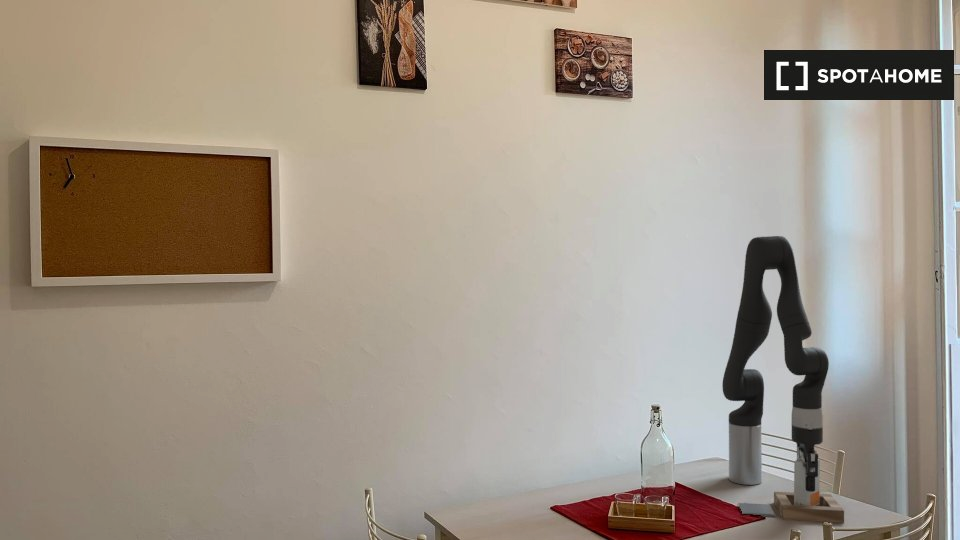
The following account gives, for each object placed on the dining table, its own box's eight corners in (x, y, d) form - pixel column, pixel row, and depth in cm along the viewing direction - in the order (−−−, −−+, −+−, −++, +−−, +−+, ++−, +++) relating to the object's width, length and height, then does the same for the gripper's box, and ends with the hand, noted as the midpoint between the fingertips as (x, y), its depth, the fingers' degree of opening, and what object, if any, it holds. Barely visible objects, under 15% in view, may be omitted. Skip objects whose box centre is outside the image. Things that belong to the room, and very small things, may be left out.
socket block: (774, 502, 209) (773, 491, 209) (830, 505, 206) (830, 494, 206) (783, 519, 196) (783, 507, 196) (844, 522, 193) (844, 510, 193)
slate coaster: (738, 505, 207) (738, 502, 207) (769, 506, 206) (769, 504, 206) (742, 515, 200) (742, 512, 200) (775, 516, 198) (775, 514, 198)
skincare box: (809, 509, 198) (809, 463, 197) (793, 505, 201) (793, 460, 201) (820, 504, 202) (820, 459, 201) (804, 500, 205) (804, 456, 205)
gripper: (786, 417, 208) (786, 477, 209) (797, 429, 194) (797, 494, 195) (816, 418, 207) (816, 479, 207) (829, 430, 193) (829, 496, 193)
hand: (807, 486), depth 201 cm, fingers closed on skincare box, 7 cm apart
